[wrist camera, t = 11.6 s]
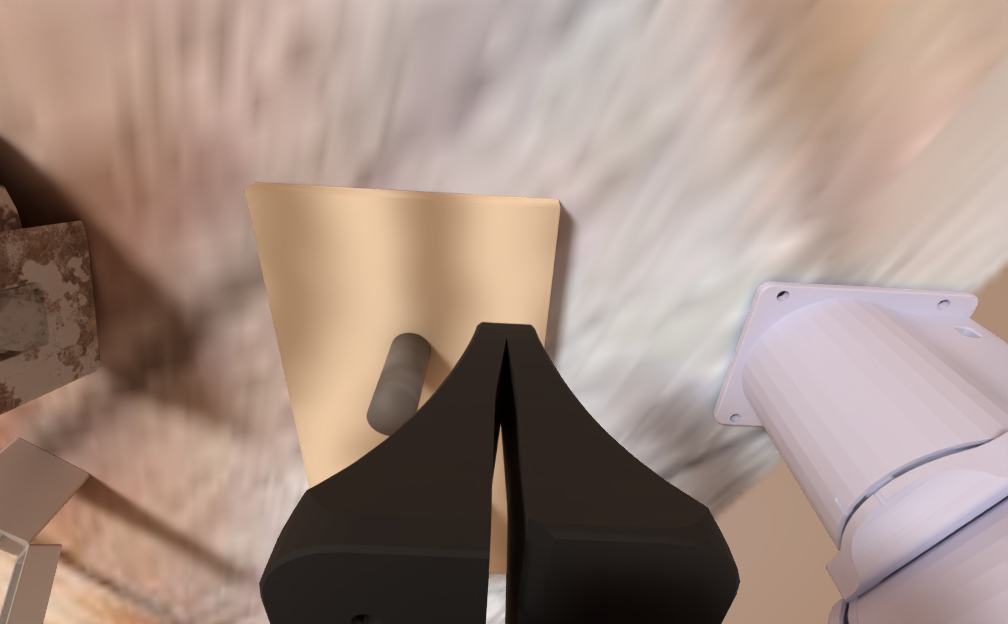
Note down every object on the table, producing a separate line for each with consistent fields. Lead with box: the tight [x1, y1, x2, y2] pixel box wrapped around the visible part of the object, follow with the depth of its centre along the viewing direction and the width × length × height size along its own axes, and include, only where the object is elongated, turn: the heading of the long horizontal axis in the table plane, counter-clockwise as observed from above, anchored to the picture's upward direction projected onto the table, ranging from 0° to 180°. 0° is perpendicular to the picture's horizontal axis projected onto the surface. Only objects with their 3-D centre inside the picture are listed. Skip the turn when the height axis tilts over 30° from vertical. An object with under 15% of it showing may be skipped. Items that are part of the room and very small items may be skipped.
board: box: [245, 182, 560, 574], centre depth 24 cm, size 12×24×6 cm, turn 177°
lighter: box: [0, 438, 90, 624], centre depth 25 cm, size 7×2×8 cm, turn 43°
